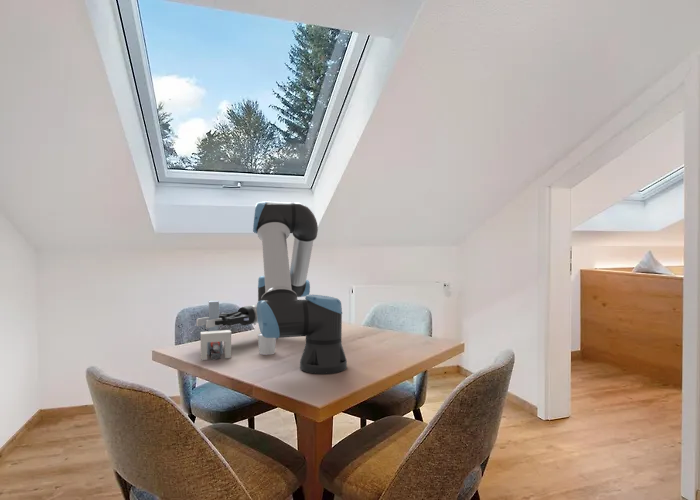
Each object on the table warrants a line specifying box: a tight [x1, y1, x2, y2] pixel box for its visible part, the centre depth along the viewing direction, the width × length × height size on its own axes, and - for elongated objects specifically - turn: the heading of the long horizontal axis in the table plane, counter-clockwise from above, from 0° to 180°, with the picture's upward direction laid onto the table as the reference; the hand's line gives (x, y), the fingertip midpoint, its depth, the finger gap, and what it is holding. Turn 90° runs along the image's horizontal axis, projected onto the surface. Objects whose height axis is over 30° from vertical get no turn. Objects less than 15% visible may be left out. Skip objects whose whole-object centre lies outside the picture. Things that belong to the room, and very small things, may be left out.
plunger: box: [211, 342, 220, 352], centre depth 152 cm, size 9×3×3 cm, turn 20°
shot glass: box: [257, 332, 277, 356], centre depth 159 cm, size 7×7×7 cm
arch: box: [200, 329, 232, 361], centre depth 152 cm, size 4×10×9 cm, turn 110°
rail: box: [210, 349, 222, 360], centre depth 162 cm, size 24×3×2 cm, turn 20°
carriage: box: [207, 300, 224, 356], centre depth 161 cm, size 11×5×18 cm, turn 20°
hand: (201, 323), depth 160 cm, fingers closed on carriage, 5 cm apart
